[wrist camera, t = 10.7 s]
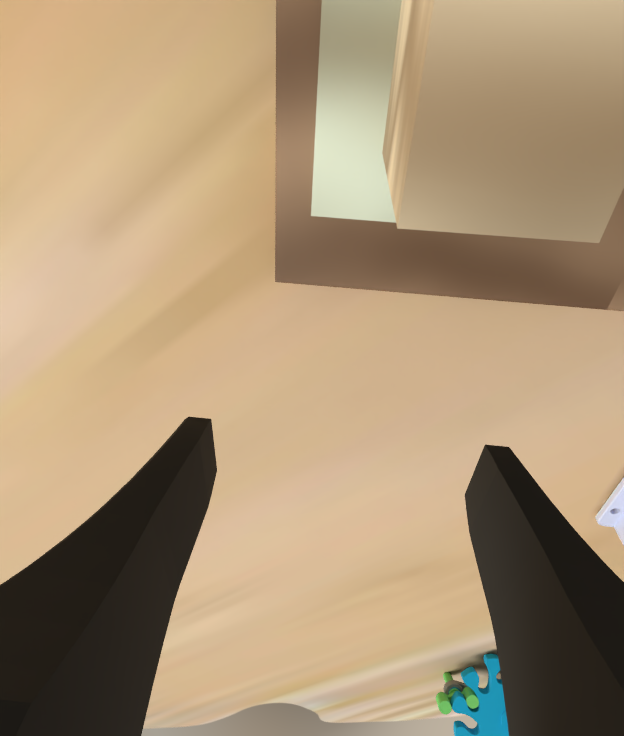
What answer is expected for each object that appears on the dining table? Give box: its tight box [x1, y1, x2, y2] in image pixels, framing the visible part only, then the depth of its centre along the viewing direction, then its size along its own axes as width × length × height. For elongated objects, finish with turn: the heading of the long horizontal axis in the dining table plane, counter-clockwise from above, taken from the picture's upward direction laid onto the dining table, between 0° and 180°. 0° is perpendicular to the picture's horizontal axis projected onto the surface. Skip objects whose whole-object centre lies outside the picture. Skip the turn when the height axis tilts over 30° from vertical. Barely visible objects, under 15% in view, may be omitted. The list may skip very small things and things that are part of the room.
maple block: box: [382, 0, 624, 243], centre depth 11 cm, size 4×4×7 cm
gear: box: [436, 654, 509, 736], centre depth 40 cm, size 11×6×10 cm
